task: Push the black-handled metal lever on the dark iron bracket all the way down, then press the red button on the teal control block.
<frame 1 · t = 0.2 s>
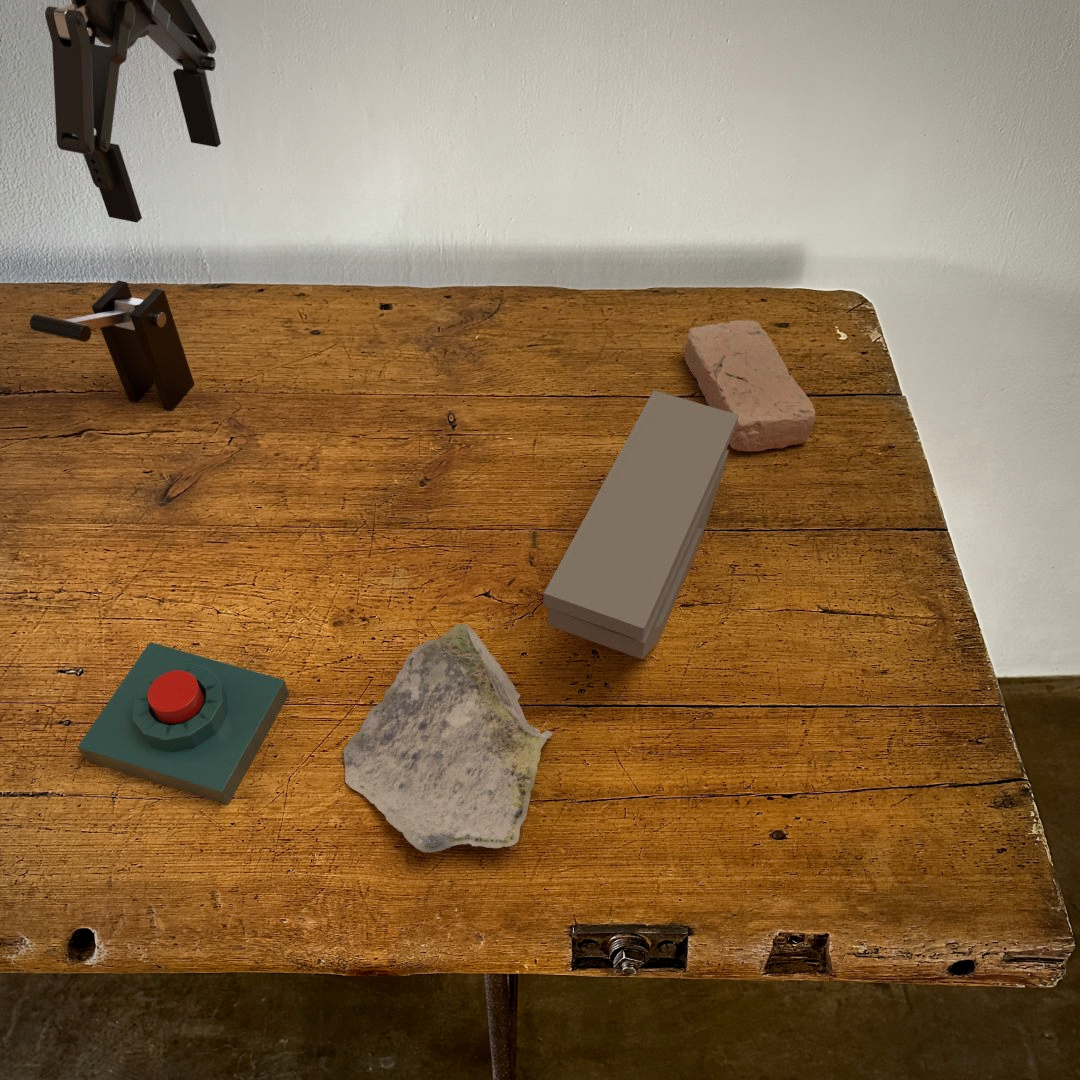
hand: (167, 179, 87), 22 cm above the table, tool pointing down, fingers open, 13 cm apart
control block: (190, 727, 76), on the table
sharpening stone: (636, 581, 87), on the table
bracket: (165, 401, 101), on the table
button: (175, 696, 73), point 4 cm above the table, slide at 0.1 cm
rock fragment: (448, 753, 75), on the table
brick: (740, 401, 103), on the table
lever: (101, 320, 88), point 13 cm above the table, hinge at 28.0°
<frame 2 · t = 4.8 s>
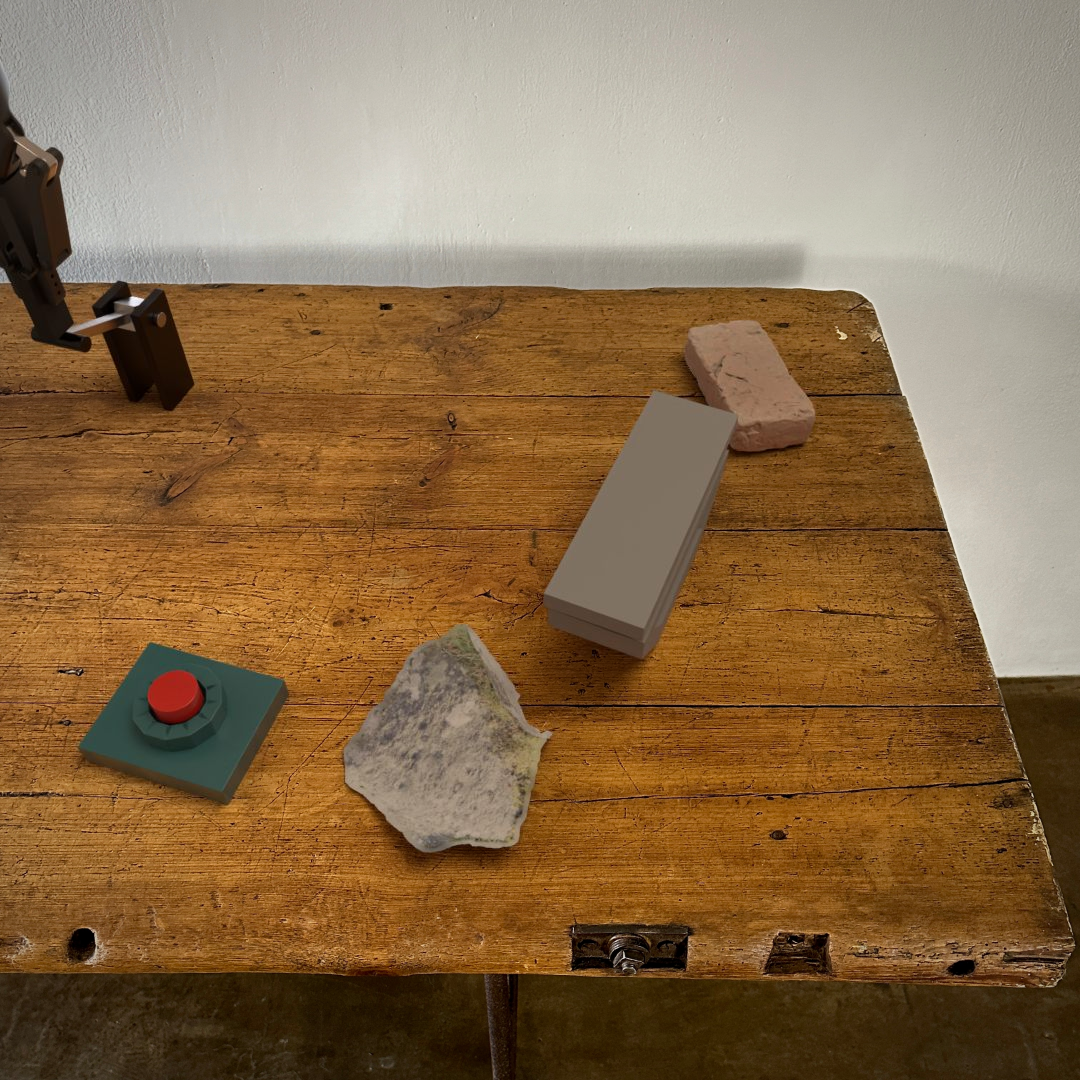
hand: (57, 330, 83), 16 cm above the table, tool pointing down, fingers closed
lever: (101, 324, 88), point 13 cm above the table, hinge at 22.5°, touching gripper
everything else where it was.
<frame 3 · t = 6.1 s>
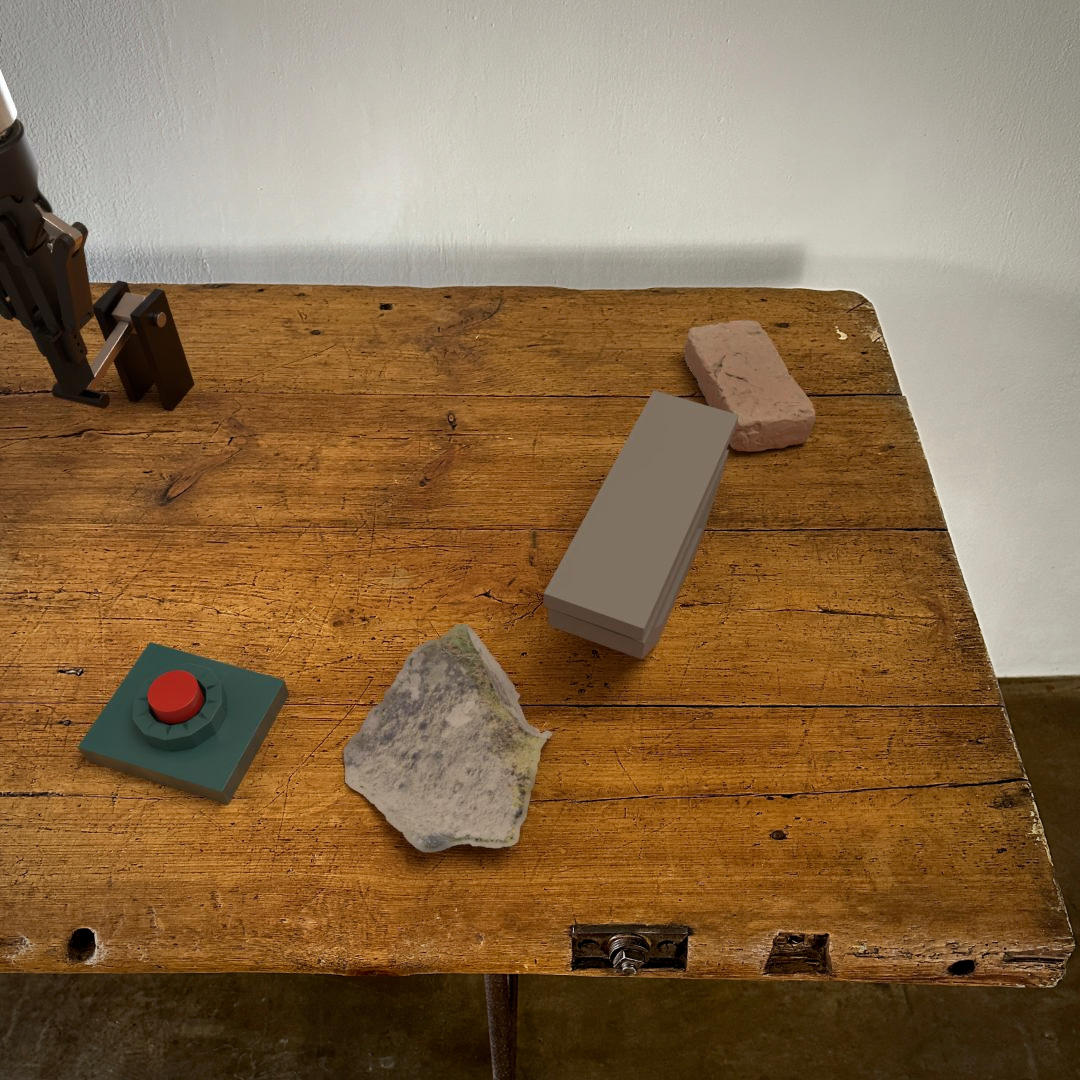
hand: (78, 385, 87), 10 cm above the table, tool pointing down, fingers closed
lever: (109, 350, 90), point 10 cm above the table, hinge at -12.2°, touching gripper
everything else where it was.
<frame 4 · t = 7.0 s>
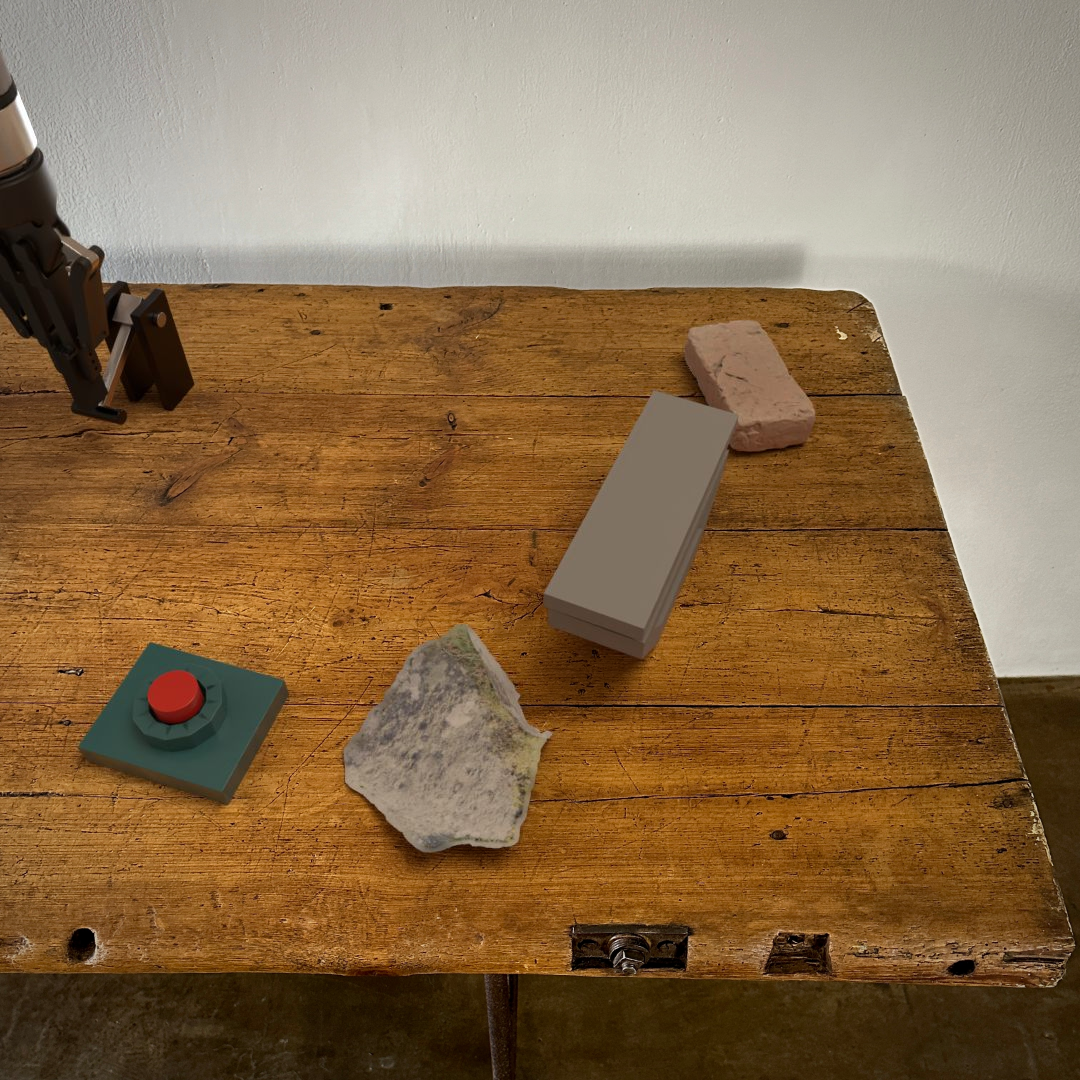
hand: (93, 400, 89), 8 cm above the table, tool pointing down, fingers closed
lever: (117, 359, 91), point 9 cm above the table, hinge at -30.5°, touching gripper
everything else where it was.
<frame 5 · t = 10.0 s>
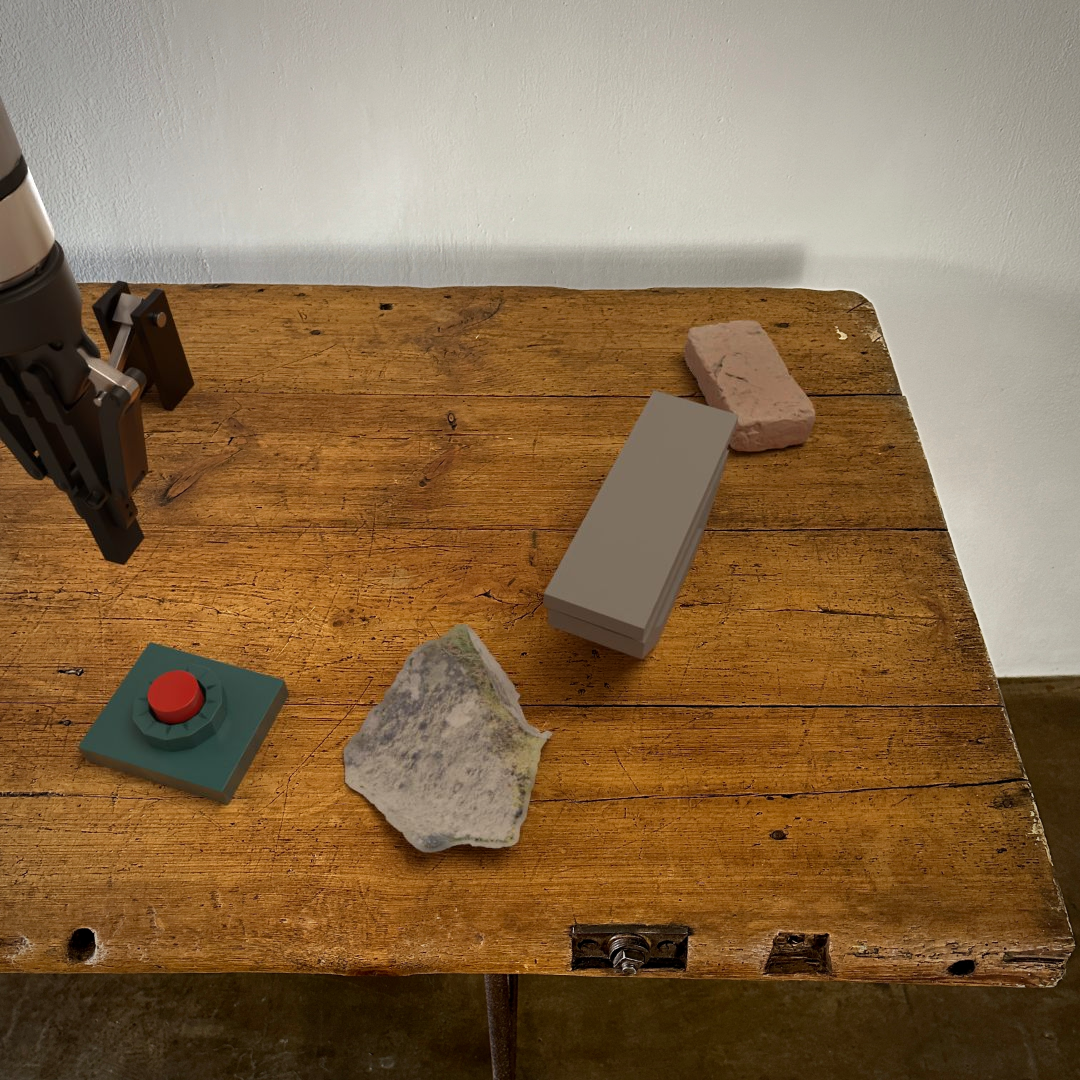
hand: (125, 548, 69), 15 cm above the table, tool pointing down, fingers closed
lever: (117, 359, 91), point 9 cm above the table, hinge at -30.5°
everything else where it was.
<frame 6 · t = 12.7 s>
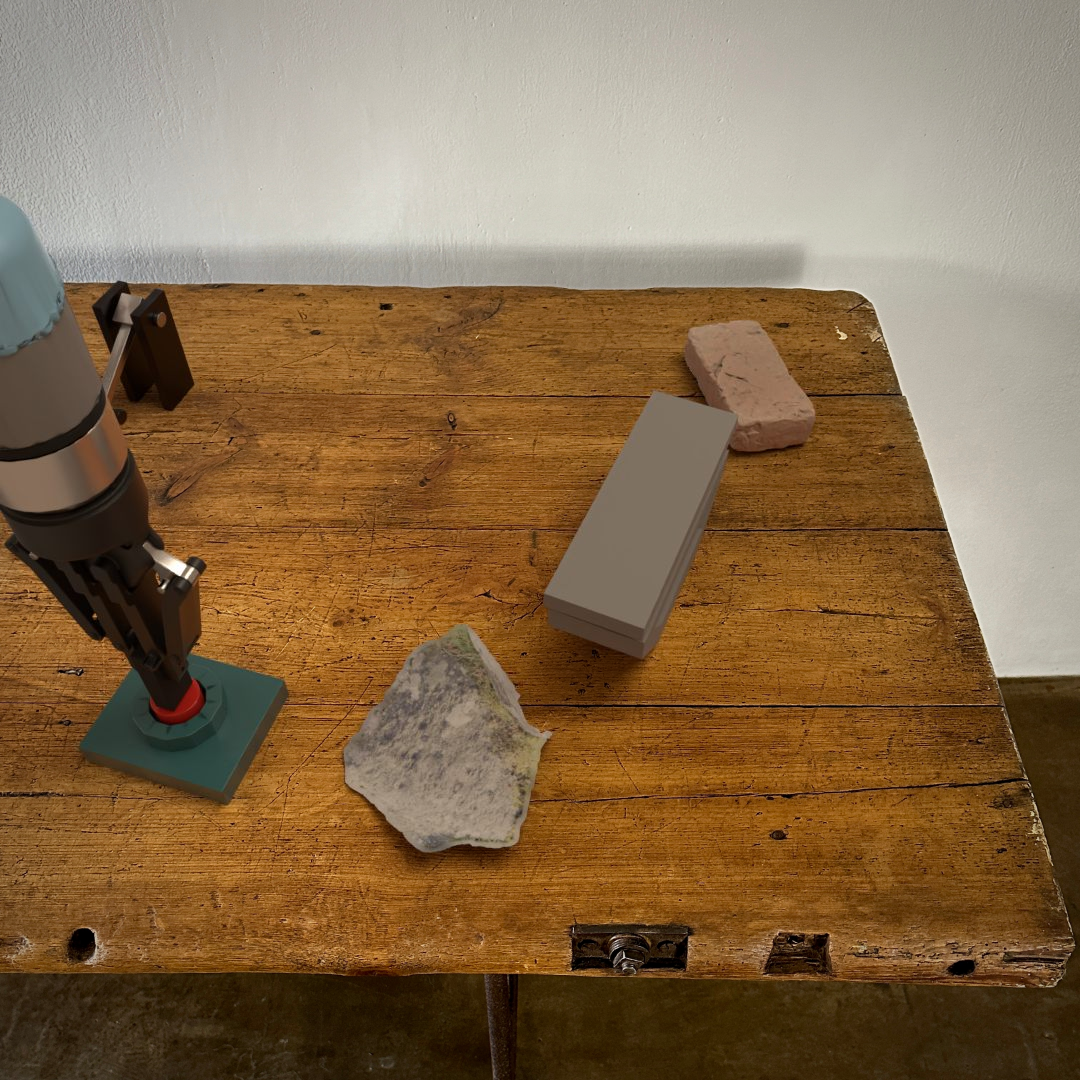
hand: (174, 693, 72), 5 cm above the table, tool pointing down, fingers closed
button: (177, 701, 73), point 4 cm above the table, slide at -0.5 cm, touching gripper
everything else where it was.
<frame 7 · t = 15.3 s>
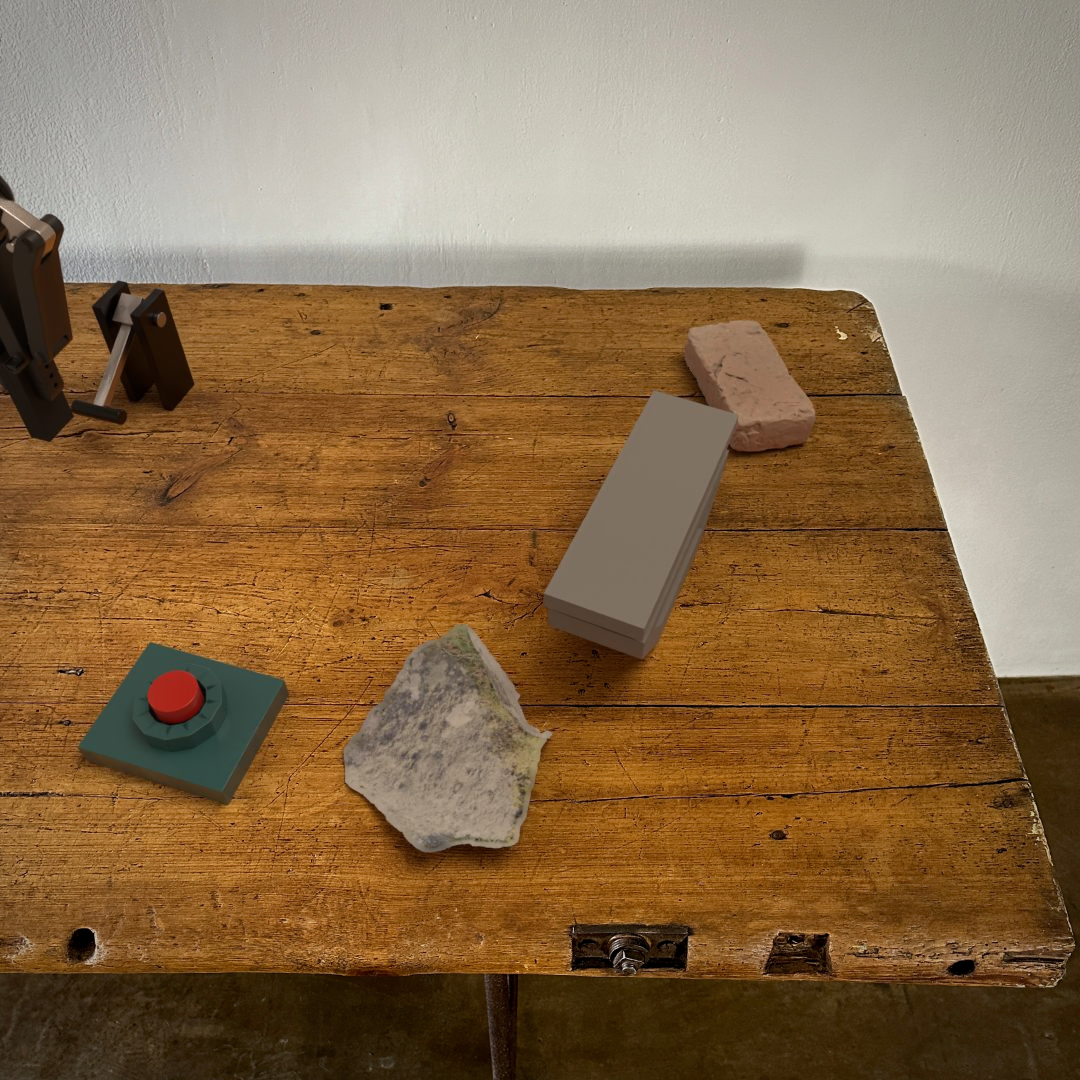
hand: (52, 426, 66), 22 cm above the table, tool pointing down, fingers closed
button: (175, 696, 73), point 4 cm above the table, slide at 0.1 cm
everything else where it was.
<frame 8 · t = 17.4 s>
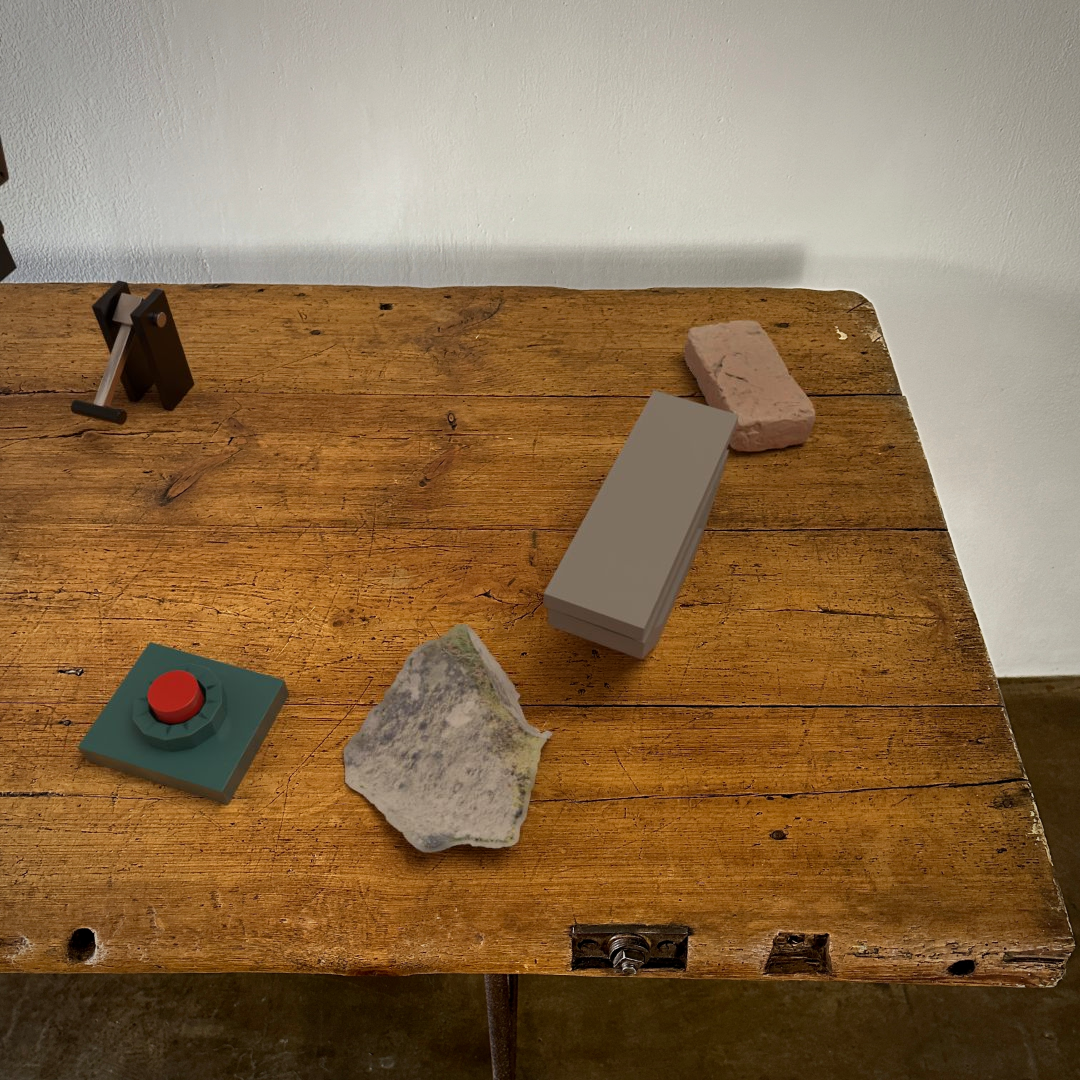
nothing on the table moved.
at the end: lever at -30° (first picture: +28°); button pushed in 1.0 cm at the most during the clip, back to where it started at the end; button slide at 0.1 cm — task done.
